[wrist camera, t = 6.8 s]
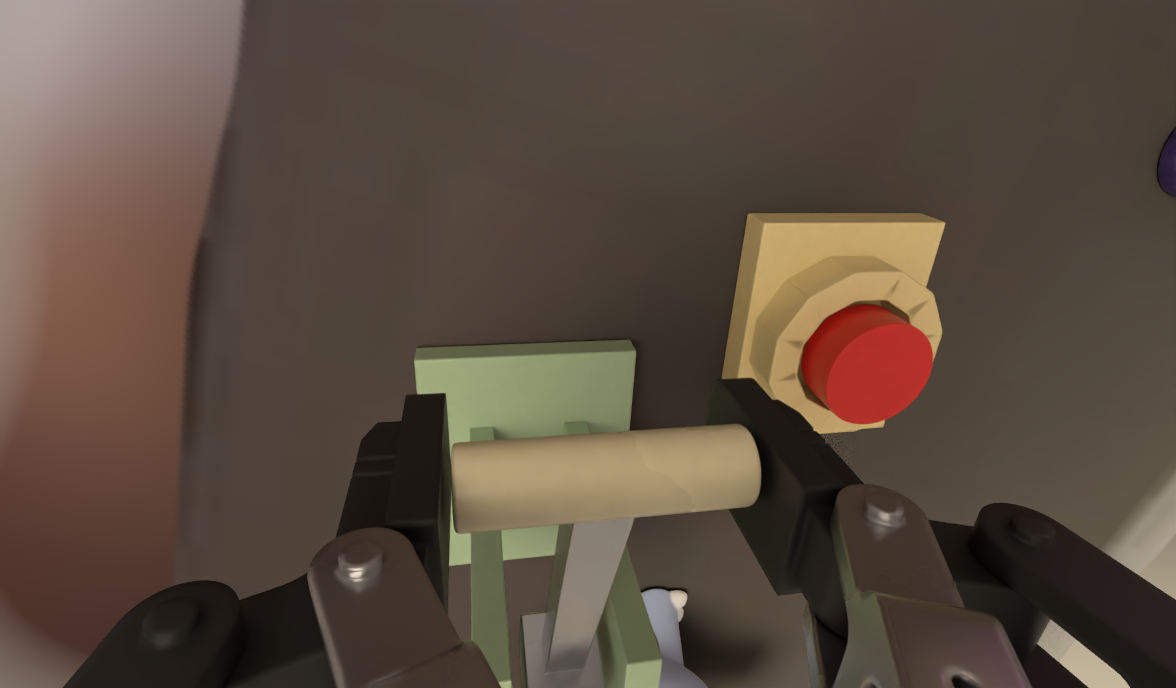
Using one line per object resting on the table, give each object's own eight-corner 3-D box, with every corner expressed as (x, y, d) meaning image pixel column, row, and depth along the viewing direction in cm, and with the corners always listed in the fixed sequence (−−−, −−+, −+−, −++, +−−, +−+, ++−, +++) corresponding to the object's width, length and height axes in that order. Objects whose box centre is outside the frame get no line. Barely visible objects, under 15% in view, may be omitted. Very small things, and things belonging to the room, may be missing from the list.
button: (813, 304, 23) (840, 325, 22) (914, 301, 24) (948, 321, 22) (791, 402, 25) (815, 428, 24) (885, 396, 26) (915, 421, 24)
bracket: (416, 346, 25) (374, 602, 13) (630, 338, 26) (754, 560, 15) (434, 549, 29) (414, 863, 18) (614, 532, 31) (699, 810, 20)
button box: (747, 212, 25) (789, 237, 22) (920, 212, 26) (983, 235, 23) (714, 419, 29) (744, 465, 26) (864, 409, 30) (910, 452, 27)
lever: (450, 401, 10) (450, 538, 8) (734, 385, 11) (782, 506, 9) (474, 649, 20) (476, 735, 18) (625, 630, 20) (640, 710, 19)
